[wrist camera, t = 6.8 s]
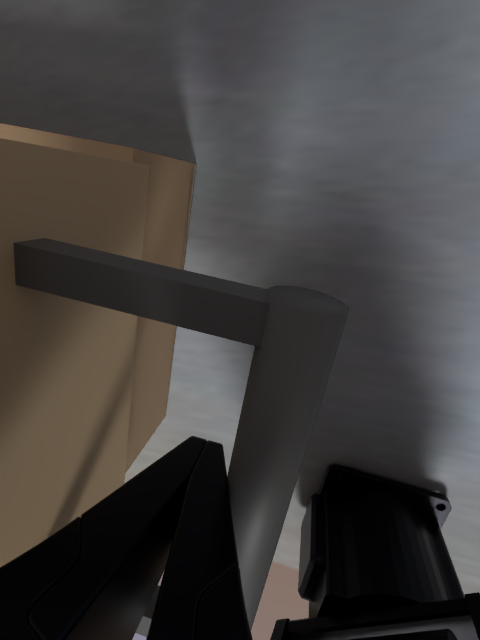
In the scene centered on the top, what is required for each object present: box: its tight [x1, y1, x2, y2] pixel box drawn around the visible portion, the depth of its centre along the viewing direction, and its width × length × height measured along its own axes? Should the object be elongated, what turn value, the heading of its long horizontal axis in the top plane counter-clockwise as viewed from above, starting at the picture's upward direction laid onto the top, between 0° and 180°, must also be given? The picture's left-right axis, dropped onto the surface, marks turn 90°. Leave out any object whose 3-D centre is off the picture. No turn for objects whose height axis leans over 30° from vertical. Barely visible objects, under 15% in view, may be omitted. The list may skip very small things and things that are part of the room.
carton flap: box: [0, 138, 349, 637], centre depth 10 cm, size 6×13×7 cm
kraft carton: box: [0, 123, 196, 473], centre depth 17 cm, size 14×14×7 cm
